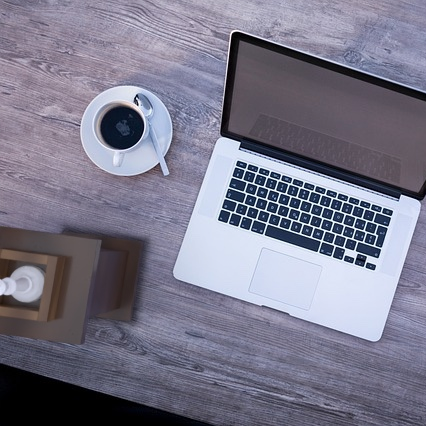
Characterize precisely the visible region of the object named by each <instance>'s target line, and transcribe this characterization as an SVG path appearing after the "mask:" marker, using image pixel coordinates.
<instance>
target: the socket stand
mask: <svg viewBox="0 0 426 426" xmlns="http://www.w3.org/2000/svg"><path fill="white" fill-rule="evenodd" d="M101 241H102V240H99V239H92V238H84V237H77V236H70V235H63V234H62V233H55V232H48V231H43V230H42V231H40V230H33V229H26V228H19V227H14V226H13V227H12V226H5V225H0V279H1V280H2V279H4V278H10V276H11V275H12V273H13V272H14V271H15V270H16V269H18V268H20V267H22V266H25V265H34V266H37V267H39V268H41V269H42V270H43V271H44V272H45V279H44V285H43V291H42V297H41V298H40V299H39V300H37V301H35V302H30V303H26V302H21V301H18V300H17V299H15V298H14V297H13V296H12V295H4V294H2V295H0V335H3V336H11V337H18V338H26V339H34V340H40V341H48V342H54V343H61V344H70V345H75V346H82V345H84V344H85V342H86V337H87V330H88V324H89V319H90V318H89V313H90V307H91V301H92V295H93V289H94V283H95V277H96V271H97V265H98V259H99V253H100V247H101Z"/></svg>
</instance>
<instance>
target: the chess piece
mask: <svg viewBox="0 0 426 426" xmlns="http://www.w3.org/2000/svg"><path fill="white" fill-rule="evenodd" d="M44 279H45V272H44V271H43V270H42V269H41V268H39V267H37V266H34V265H25V266H22V267H20V268H18V269H16V270H15V271H14V272H13V273H12V275H11V276H10V278H4V279H2V280H1V279H0V295H2V294H4V295H12V296H13V297H14V298H15V299H17V300H18V301H21V302H26V303H30V302H35V301H37V300H39V299H40V298H41V297H42V291H43V285H44Z"/></svg>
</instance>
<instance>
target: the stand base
mask: <svg viewBox="0 0 426 426" xmlns="http://www.w3.org/2000/svg"><path fill="white" fill-rule="evenodd" d="M61 234H63V235H70V236H77V237H84V238H92V239H99V240H102V241H101V247H100V253H99V259H98V265H97V271H96V277H95V283H94V289H93V295H92V301H91V307H90V313H89V319H90V318H99V319H106V320H107V319H108V320H113V321H114V320H115V321H122V322H127V323H129V322H132V321H133V316H134V315H133V314H134V309H135V302H136V298H137V291H138V284H139V279H140V273H141V267H142V266H141V265H142V260H143V253H144V247H145V241H141V240H132V239H127V238H119V237H112V236H105V235H98V234H97V235H96V234H91V233H85V232H84V233H82V232H77V231H68V230H62V233H61Z"/></svg>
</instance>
